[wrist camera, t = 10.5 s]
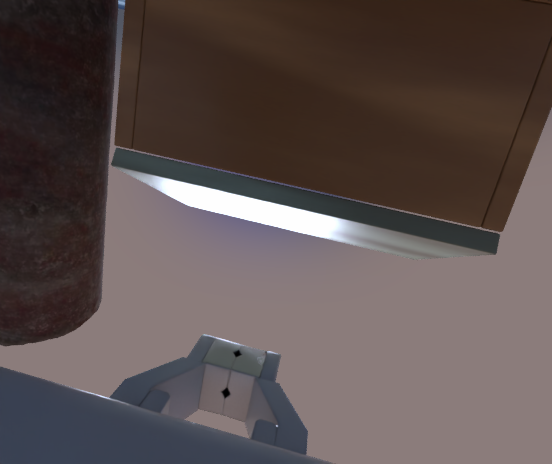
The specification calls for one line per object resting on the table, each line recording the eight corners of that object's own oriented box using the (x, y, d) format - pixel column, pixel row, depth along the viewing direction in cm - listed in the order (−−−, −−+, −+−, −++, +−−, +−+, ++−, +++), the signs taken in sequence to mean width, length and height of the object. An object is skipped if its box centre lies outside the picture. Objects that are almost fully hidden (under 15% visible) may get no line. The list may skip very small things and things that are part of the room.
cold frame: (480, 55, 19) (433, 197, 22) (215, 9, 21) (196, 145, 23) (602, -20, 11) (503, 233, 13) (131, -91, 12) (113, 145, 14)
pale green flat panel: (417, 247, 22) (414, 259, 22) (189, 194, 24) (187, 205, 24) (500, 233, 13) (496, 254, 13) (115, 147, 15) (110, 165, 14)
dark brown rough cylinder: (111, -66, 14) (85, 349, 20) (134, -8, 21) (110, 289, 26) (-127, -147, 12) (-84, 346, 17) (-17, -53, 19) (-10, 281, 24)
